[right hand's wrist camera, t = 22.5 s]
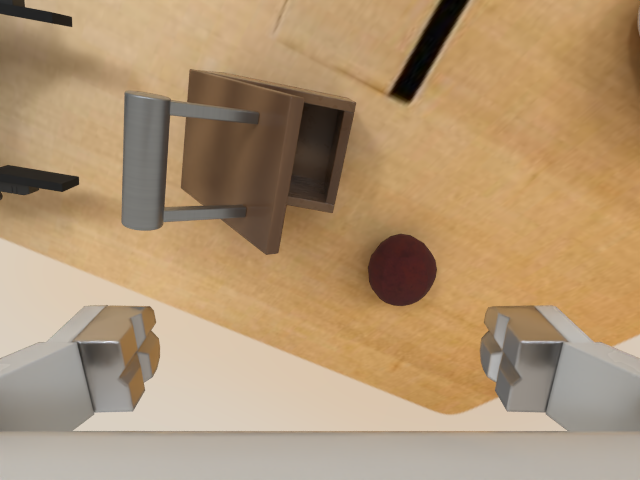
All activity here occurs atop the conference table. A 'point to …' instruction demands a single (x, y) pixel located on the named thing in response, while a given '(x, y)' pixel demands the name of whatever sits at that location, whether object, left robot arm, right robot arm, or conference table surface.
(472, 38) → the conference table surface
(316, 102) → the chest
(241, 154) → the lid
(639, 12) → the white lobed housing
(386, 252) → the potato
